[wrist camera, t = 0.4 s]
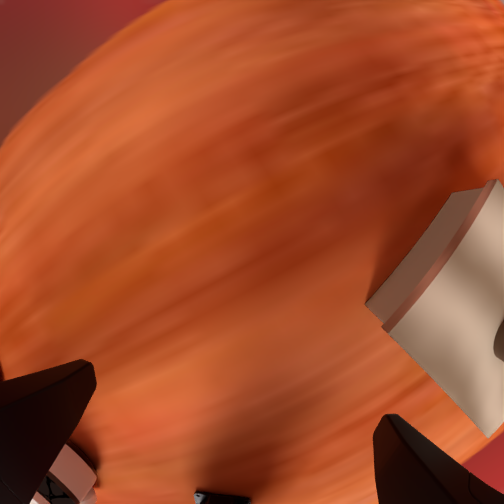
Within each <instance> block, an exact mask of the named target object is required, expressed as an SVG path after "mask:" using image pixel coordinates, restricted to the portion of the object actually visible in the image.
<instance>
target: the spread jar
mask: <svg viewBox="0 0 504 504" xmlns="http://www.w3.org/2000/svg"><path fill="white" fill-rule="evenodd" d="M96 479H97V474H96V471H95V469H94V467H93V465H92V463H91V461H90V460H89V459H88V457H87V456H86V455H85V454H84V453H83V452H82V451H81V450H80V449H79V448H78V447H77V446H75V445H74V444H72V443H71V442H69V441H68V440H67V442H66V444H65V445H64V447H63V448H62V450H61V452H60V453H59V455H58V456H57V458H56V460H55V461H54V463H53V465H52V466H51V468H50V470H49V471H48V473H47V475H46V476H45V478H44V480H43V481H42V483H41V485H40V486H39V488H38V490H37V492H36V493H35V495H34V497H33V499H32V500H31V502H30V504H95V503H96V501H97V496H96V493H95V490H94V488H93V487H92V486H93V485H94V483H95V481H96Z"/></svg>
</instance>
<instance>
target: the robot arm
mask: <svg viewBox="0 0 504 504" xmlns="http://www.w3.org/2000/svg"><path fill="white" fill-rule="evenodd" d="M96 385H97V382H96V377H95V371H94V366H93V364H92V363H91V362H88V361H86V360H83V359H79V360H76V361H73V362H69V363H66V364H63V365H59V366H56V367H53V368H49V369H46V370H42V371H39V372H35V373H32V374H28V375H25V376H21V377H17V378H13V379H10V380H6V381H2V382H0V504H30V502H31V500H32V499H33V497H34V495H35V493H36V492H37V490H38V488H39V486H40V485H41V483H42V481H43V480H44V478H45V476H46V475H47V473H48V471H49V470H50V468H51V466H52V465H53V463H54V461H55V460H56V458H57V456H58V455H59V453H60V452H61V450H62V448H63V447H64V445H65V444H66V442H67V440H68V439H69V437H70V436H71V434H72V433H73V431H74V429H75V428H76V426H77V425H78V423H79V421H80V419H81V417H82V415H83V413H84V411H85V409H86V407H87V405H88V403H89V401H90V399H91V397H92V395H93V393H94V391H95V389H96ZM373 449H374V469H375V481H376V488H377V495H378V501H379V504H504V494H502V493H500V492H499V491H497V490H495V489H494V488H492V487H490V486H488V485H487V484H486V483H484V482H483V481H482V480H480V479H479V478H477V477H476V476H475V475H473V474H472V473H471V472H470V473H469V471H468V470H467V469H465V468H464V467H463V466H461V465H460V464H459V463H458V462H456V461H455V460H454V459H453V458H451V457H450V456H449V455H447V454H446V453H445V452H444V451H442V450H441V449H440V448H439V447H437V446H436V445H435V444H434V443H432V442H431V441H430V440H429V439H427V438H426V437H425V436H424V435H422V434H421V433H420V432H419V431H417V430H416V429H415V428H414V427H412V426H411V425H410V424H409V423H408V422H406V421H405V420H404V419H403V418H401V417H400V416H399V415H398V414H385V415H384V416H383V417H382V418H381V420H380V422H379V424H378V426H377V427H376V429H375V431H374V434H373ZM194 498H195V502H196V504H251V499H250V498H247V497H236V496H227V495H219V494H212V493H205V492H199V491H196V492H195V493H194Z"/></svg>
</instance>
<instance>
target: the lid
mask: <svg viewBox="0 0 504 504" xmlns="http://www.w3.org/2000/svg"><path fill="white" fill-rule="evenodd" d="M381 327H382V328H383V329H384V330H385V331H386V332H387V333H388V334H389V335H390V336H391V337H392V338H393V339H394V340H395V341H396V342H397V343H398V344H399V345H400V346H401V347H402V348H403V349H404V350H405V351H406V352H407V353H408V354H409V355H410V356H411V357H412V358H413V359H414V360H415V361H416V362H417V363H418V364H419V365H420V366H421V367H422V368H423V369H424V370H425V372H426V373H427V374H428V375H429V376H430V377H431V378H432V379H433V380H434V381H435V382H436V383H437V384H438V385H439V386H440V387H441V388H442V389H443V390H444V391H445V392H446V393H447V394H448V395H449V397H450V398H451V399H452V400H453V401H454V402H455V403H456V404H457V405H458V406H459V407H460V408H461V409H462V410H463V412H464V413H465V414H466V415H467V416H468V417H469V418H470V419H471V420H472V421H473V422H474V424H475V425H476V426H477V427H478V428H479V429H480V430H481V431H482V432H483V434H484V435H485V436H486V437H487V438H489V437H490V436H491V435H492V434H493V433H494V432H495V431H496V430H497V429H498V428H499V427H500V425H501V424H502V423H503V422H504V188H503V186H502V184H501V183H500V181H499V180H498V179H495V180H489V181H487V183H486V185H485V187H484V188H483V190H482V192H481V194H480V195H479V197H478V199H477V200H476V202H475V204H474V205H473V207H472V209H471V210H470V212H469V213H468V215H467V217H466V218H465V220H464V221H463V223H462V224H461V226H460V228H459V229H458V231H457V232H456V234H455V235H454V236H453V238H452V239H451V241H450V242H449V244H448V245H447V247H446V248H445V249H444V251H443V252H442V254H441V255H440V256H439V258H438V259H437V260H436V262H435V263H434V264H433V266H432V267H431V268H430V270H429V271H428V272H427V274H426V275H425V276H424V277H423V279H422V280H421V281H420V282H419V284H418V285H417V286H416V287H415V289H414V290H413V291H412V292H411V293H410V295H409V296H408V297H407V298H406V299H405V301H404V302H403V303H402V304H401V305H400V306H399V308H398V309H397V310H396V311H395V312H394V313H393V314H392V316H391V317H390V318H389V319H388V320H387V321H386V322H385V323H384V324H383V325H382V326H381Z"/></svg>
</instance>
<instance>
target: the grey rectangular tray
mask: <svg viewBox="0 0 504 504" xmlns="http://www.w3.org/2000/svg"><path fill="white" fill-rule="evenodd" d="M482 190H483V188H478V189H472V190H465V191H459V192H453V193H452V194H451V195H450V197H449V198H448V200H447V201H446V203H445V204H444V206H443V207H442V209H441V210H440V211H439V213H438V214H437V216H436V217H435V218H434V220H433V221H432V223H431V224H430V225H429V227H428V228H427V229H426V231H425V232H424V234H423V235H422V236H421V238H420V239H419V240H418V241H417V243H416V244H415V245H414V247H413V248H412V249H411V250H410V252H409V253H408V254H407V256H406V257H405V258H404V259H403V261H402V262H401V263H400V264H399V265H398V267H397V268H396V269H395V270H394V271H393V273H392V274H391V275H390V276H389V277H388V279H387V280H386V281H385V282H384V283H383V284H382V286H381V287H380V288H379V289H378V290H377V291H376V292H375V294H374V295H373V296H372V297H371V298H370V299H369V300H368V301H367V302H366V304H365V305H366V306H367V307H368V308H369V309H370V310H371V311H372V312H373V313H374V314H375V315H376V316H377V317H378V318H379V319H380V320H381V321H382V322H383V323H385V322H386V321H387V320H388V319H389V318H390V317H391V316H392V314H393V313H394V312H395V311H396V310H397V309H398V308H399V306H400V305H401V304H402V303H403V302H404V301H405V299H406V298H407V297H408V296H409V295H410V293H411V292H412V291H413V290H414V289H415V287H416V286H417V285H418V284H419V282H420V281H421V280H422V279H423V277H424V276H425V275H426V274H427V272H428V271H429V270H430V268H431V267H432V266H433V264H434V263H435V262H436V260H437V259H438V258H439V256H440V255H441V254H442V252H443V251H444V249H445V248H446V247H447V245H448V244H449V242H450V241H451V239H452V238H453V236H454V235H455V234H456V232H457V231H458V229H459V228H460V226H461V224H462V223H463V221H464V220H465V218H466V217H467V215H468V213H469V212H470V210H471V209H472V207H473V205H474V204H475V202H476V200H477V199H478V197H479V195H480V194H481V192H482Z"/></svg>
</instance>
